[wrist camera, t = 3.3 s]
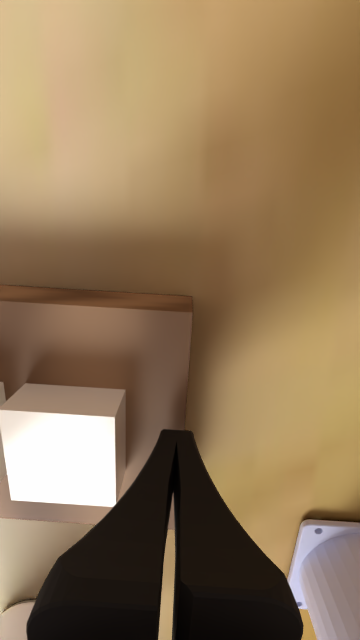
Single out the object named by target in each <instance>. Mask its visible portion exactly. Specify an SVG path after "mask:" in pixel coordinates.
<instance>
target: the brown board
mask: <svg viewBox="0 0 360 640" xmlns="http://www.w3.org/2000/svg"><path fill="white" fill-rule="evenodd" d="M192 317H193V307H192V296H176V295H159V294H143V293H126V292H110V291H93V290H76V289H60V288H43V287H27V286H10V285H0V382H3V384H4V391H5V398H6V401H7V400H8V399H9V398H10V397H11V396H12V395H14V394H15V393H16V392H17V391H18V390H19V389H20V388H21V387H22V386H23V385H24V384H25V383H29V384H45V385H61V386H76V387H92V388H108V389H124V390H126V470H125V474H124V478H123V482H122V486H121V490H120V493H119V497H118V501H119V500H120V499H121V497H122V496H123V495H124V494H125V492H126V491H127V490H128V488H129V487H130V486H131V484H132V483H133V482H134V480H135V479H136V477H137V476H138V474H139V473H140V471H141V470H142V468H143V467H144V465H145V463H146V462H147V460H148V458H149V456H150V455H151V453H152V451H153V449H154V447H155V445H156V443H157V440H158V438H159V435H160V432H161V430H163V429H171V430H184V429H185V415H186V401H187V387H188V373H189V359H190V345H191V331H192ZM118 501H117V502H118ZM112 508H113V507H107V506H92V505H77V504H62V503H47V502H32V501H17V500H11V495H10V488H9V482H8V475H7V474H6V475H5V477H4V478H3V479H2V481H1V482H0V518H7V519H22V520H37V521H52V522H66V523H81V524H97V523H98V522H99V521H100V520H102V519H103V518H104V517H105V515H106V514H107V513H108V512H109V511H110V510H111V509H112ZM168 529H171V530H175V525H174V496H173V497H172V504H171V511H170V518H169V524H168Z"/></svg>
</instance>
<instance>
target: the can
mask: <svg viewBox="0 0 360 640" xmlns="http://www.w3.org/2000/svg"><path fill="white" fill-rule="evenodd" d="M35 601H36V600H25V601H21V602H18V603H16V604H14V605H12V606H11V607H10V608H9V609H7V610H6V611H4V612H3V613H2V614H1V616H0V640H27V634H26V625H27V621H28V618H29V616H30V613H31V611H32V608H33V606H34V603H35Z"/></svg>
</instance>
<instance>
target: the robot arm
mask: <svg viewBox="0 0 360 640" xmlns="http://www.w3.org/2000/svg"><path fill="white" fill-rule="evenodd" d="M173 496H174V525H175V580H174V604H173V627H172V640H301V638H302V635H303V622H302V618H301V614H300V611H299V609H308V612H309V615H310V618H311V621H312V624H313V628H314V631H315V634H316V637H317V640H360V523H357V522H342V521H327V520H312V519H307V520H304V521H303V522H302V523H301V525H300V530H299V534H298V538H297V542H296V546H295V550H294V554H293V559H292V563H291V567H290V571H289V575H288V579H286V577H285V575H284V573H283V572H282V571H281V570H280V569H279V568H278V567H277V566H276V565H275V564H274V563H273V562H272V561H271V560H270V559H269V558H268V557H267V556H266V555H265V554H264V553H263V551H262V550H261V549H260V548H259V547H258V546H257V545H256V543H255V542H254V541H253V540H252V539H251V538H250V536H249V535H248V534H247V532H246V531H245V530H244V529H243V527H242V526H241V525H240V523H239V522H238V521H237V520H236V518H235V517H234V516H233V514H232V513H231V511H230V510H229V508H228V507H227V505H226V504H225V502H224V501H223V499H222V497H221V496H220V494H219V492H218V491H217V489H216V487H215V485H214V484H213V482H212V480H211V478H210V476H209V474H208V472H207V470H206V468H205V465H204V463H203V461H202V459H201V456H200V454H199V451H198V448H197V445H196V442H195V439H194V434H193V432H192V431H186V430H171V429H163V430H161V432H160V435H159V438H158V440H157V443H156V445H155V447H154V449H153V451H152V453H151V455H150V456H149V458H148V460H147V462H146V463H145V465H144V467H143V468H142V470H141V471H140V473H139V474H138V476H137V477H136V479H135V480H134V482H133V483H132V484H131V486H130V487H129V488H128V490H127V491H126V492H125V494H124V495H123V496H122V497H121V499H120V500H119V501H118V502H117V503H116V504H115V505H114V507H113V508H112V509H111V510H110V511H109V512H108V513H107V514H106V515H105V517H104V518H103V519H102V520H100V521H99V522H98V523H97V524H96V525H95V526H94V527H93V528H92V529H91V530H90V531H89V532H88V533H87V534H86V535H85V536H84V537H83V538H82V539H80V540H79V541H78V542H77V543H76V544H74V545H73V546H72V547H71V548H70V549H68V550H67V551H66V552H65V553H64V554H63V555H61V556H60V557H59V558H58V559H57V561H56V563H55V564H54V566H53V568H52V569H51V571H50V573H49V574H48V576H47V578H46V580H45V582H44V584H43V586H42V588H41V590H40V592H39V594H38V596H37V598H36V601H35V603H34V606H33V608H32V611H31V613H30V616H29V618H28V621H27V625H26V634H27V640H158V633H159V619H160V605H161V590H162V576H163V562H164V553H165V545H166V538H167V531H168V524H169V518H170V511H171V504H172V497H173Z"/></svg>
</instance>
